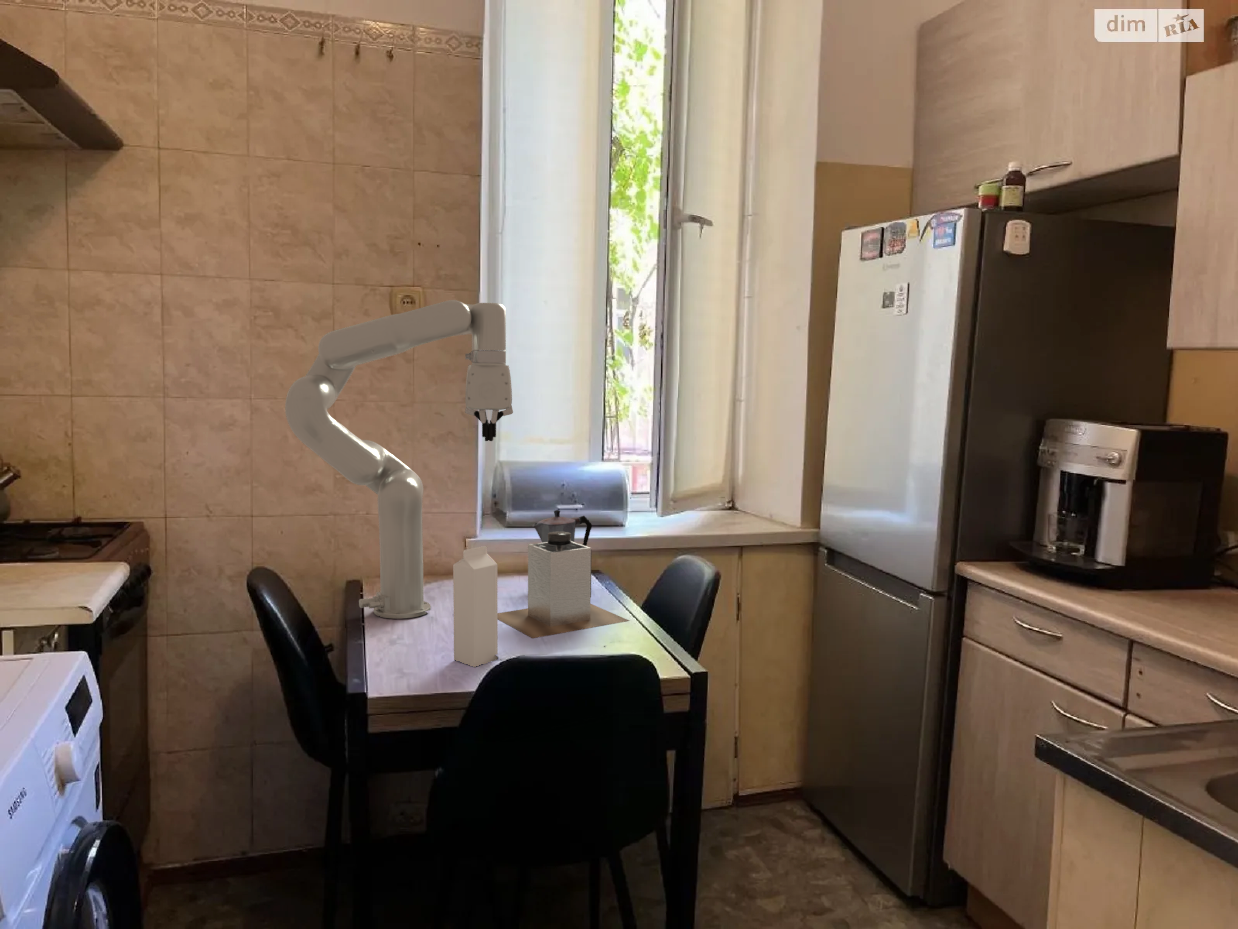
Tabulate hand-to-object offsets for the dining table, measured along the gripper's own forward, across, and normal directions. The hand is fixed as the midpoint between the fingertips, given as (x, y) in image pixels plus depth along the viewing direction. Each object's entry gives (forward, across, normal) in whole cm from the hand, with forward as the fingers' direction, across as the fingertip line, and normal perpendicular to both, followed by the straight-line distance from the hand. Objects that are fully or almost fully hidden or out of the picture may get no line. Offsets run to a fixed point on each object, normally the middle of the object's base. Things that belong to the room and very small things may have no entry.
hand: (489, 440), depth 207 cm
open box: (+38, +18, -10) cm, 43 cm away
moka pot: (+39, +16, +20) cm, 47 cm away
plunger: (+32, +16, -11) cm, 38 cm away
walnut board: (+39, +16, -11) cm, 44 cm away
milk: (+39, +1, -36) cm, 53 cm away
